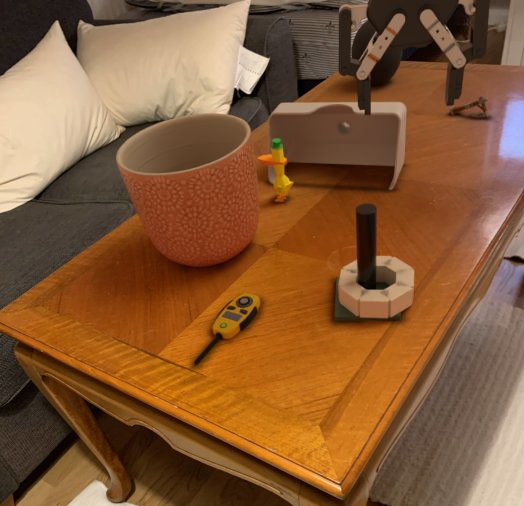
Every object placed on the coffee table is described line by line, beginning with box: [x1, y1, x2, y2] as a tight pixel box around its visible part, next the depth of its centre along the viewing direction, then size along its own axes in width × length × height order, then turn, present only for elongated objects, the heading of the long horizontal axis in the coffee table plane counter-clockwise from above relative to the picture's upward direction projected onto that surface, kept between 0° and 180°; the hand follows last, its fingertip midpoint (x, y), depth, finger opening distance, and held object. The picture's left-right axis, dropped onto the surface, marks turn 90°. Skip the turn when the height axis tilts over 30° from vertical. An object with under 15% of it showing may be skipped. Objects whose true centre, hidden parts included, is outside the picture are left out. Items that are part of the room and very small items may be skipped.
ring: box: [338, 255, 415, 318], centre depth 73 cm, size 11×11×3 cm
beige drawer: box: [267, 101, 408, 191], centre depth 100 cm, size 25×16×12 cm, turn 68°
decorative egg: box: [351, 19, 404, 86], centre depth 127 cm, size 12×12×15 cm
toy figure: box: [256, 138, 295, 203], centre depth 95 cm, size 7×4×12 cm, turn 64°
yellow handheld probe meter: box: [193, 292, 261, 365], centre depth 74 cm, size 5×2×15 cm
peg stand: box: [333, 203, 402, 322], centre depth 70 cm, size 9×9×15 cm
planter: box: [115, 112, 260, 268], centre depth 85 cm, size 21×21×19 cm
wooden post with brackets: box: [449, 95, 490, 119], centre depth 110 cm, size 2×8×4 cm, turn 50°
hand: (407, 107), depth 56 cm, fingers open, 8 cm apart
